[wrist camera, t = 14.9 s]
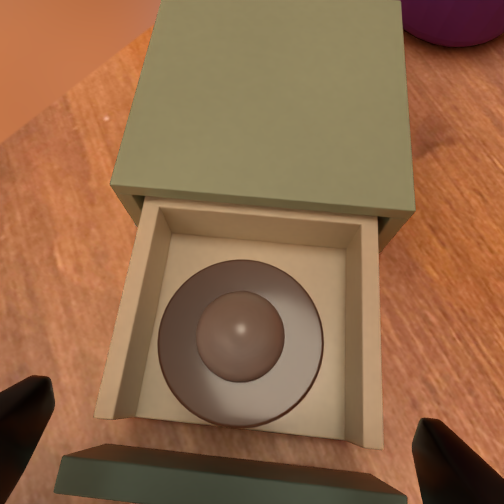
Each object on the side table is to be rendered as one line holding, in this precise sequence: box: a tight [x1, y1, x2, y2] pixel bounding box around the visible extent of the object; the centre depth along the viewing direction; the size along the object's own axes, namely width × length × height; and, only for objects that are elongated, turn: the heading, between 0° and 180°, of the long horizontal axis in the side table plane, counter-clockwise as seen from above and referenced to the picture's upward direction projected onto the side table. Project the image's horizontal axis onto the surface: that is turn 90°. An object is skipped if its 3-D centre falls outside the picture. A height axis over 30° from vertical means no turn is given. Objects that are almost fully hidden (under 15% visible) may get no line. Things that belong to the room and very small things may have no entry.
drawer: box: [54, 196, 407, 504], centre depth 16 cm, size 16×12×4 cm
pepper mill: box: [157, 259, 324, 429], centre depth 14 cm, size 5×5×9 cm
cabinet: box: [110, 0, 416, 253], centre depth 22 cm, size 14×14×6 cm
